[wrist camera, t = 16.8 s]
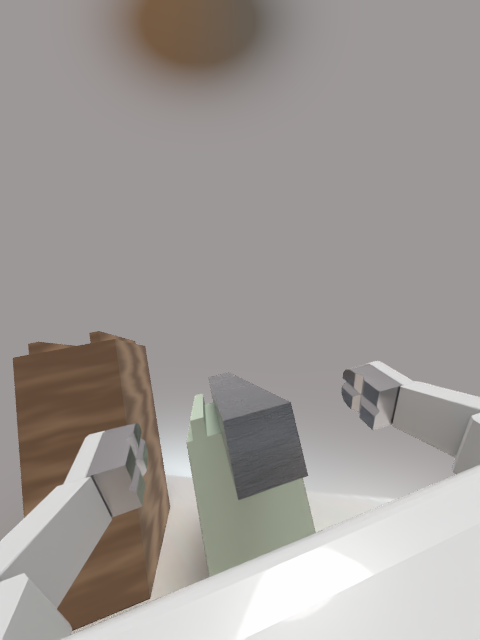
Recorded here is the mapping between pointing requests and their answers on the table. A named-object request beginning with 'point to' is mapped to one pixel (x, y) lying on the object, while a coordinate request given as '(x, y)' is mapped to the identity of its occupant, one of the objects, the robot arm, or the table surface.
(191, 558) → the table surface
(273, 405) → the bar
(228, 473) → the block
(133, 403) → the walnut stand
